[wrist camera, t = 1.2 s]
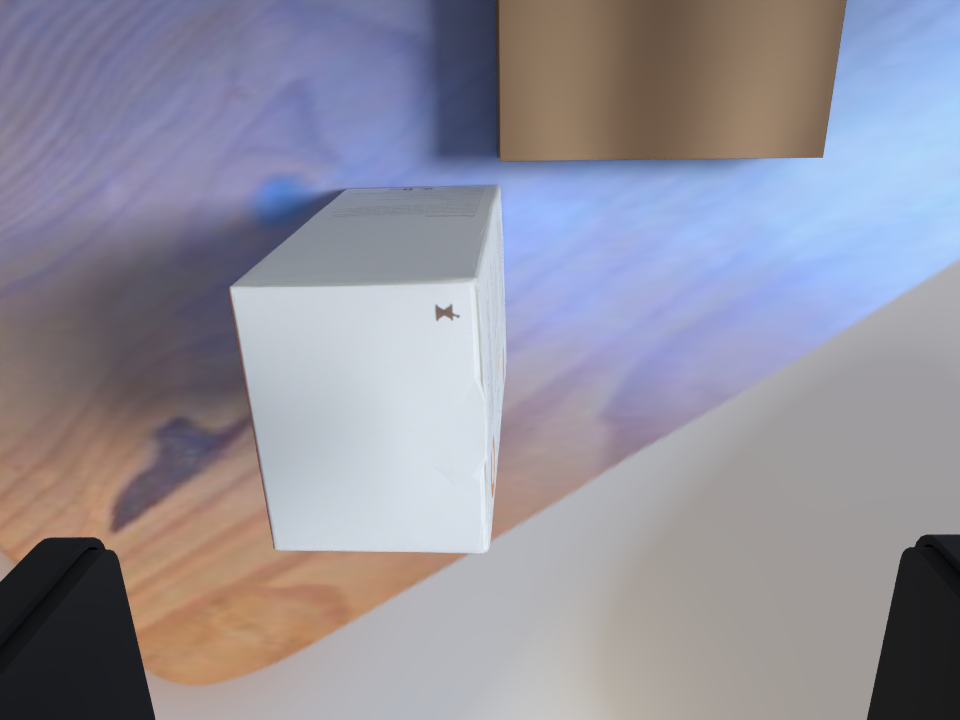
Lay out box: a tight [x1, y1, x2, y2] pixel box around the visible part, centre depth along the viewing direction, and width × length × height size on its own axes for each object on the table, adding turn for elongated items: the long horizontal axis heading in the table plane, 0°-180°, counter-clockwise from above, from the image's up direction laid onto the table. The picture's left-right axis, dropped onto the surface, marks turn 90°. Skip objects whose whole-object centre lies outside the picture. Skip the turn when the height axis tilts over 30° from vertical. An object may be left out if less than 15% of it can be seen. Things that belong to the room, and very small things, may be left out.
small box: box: [229, 185, 506, 554], centre depth 26 cm, size 8×6×13 cm
